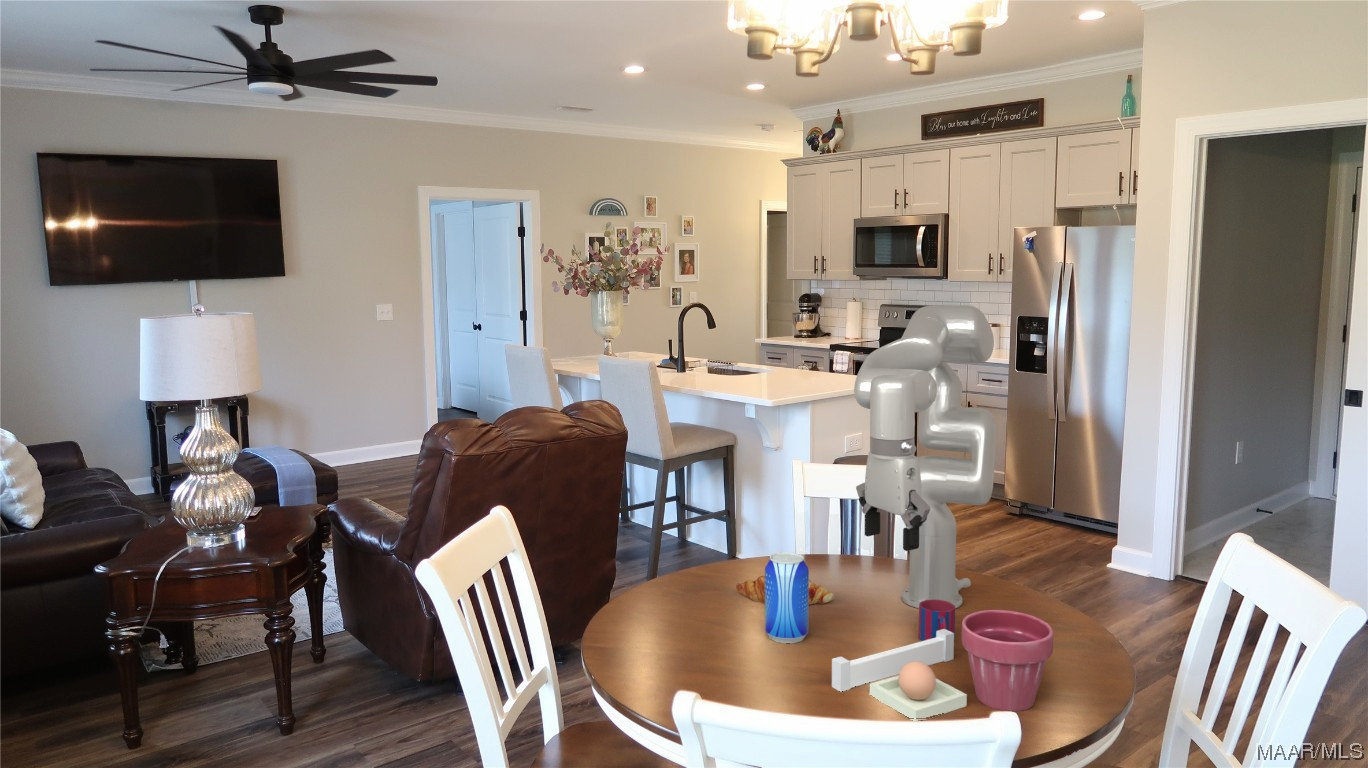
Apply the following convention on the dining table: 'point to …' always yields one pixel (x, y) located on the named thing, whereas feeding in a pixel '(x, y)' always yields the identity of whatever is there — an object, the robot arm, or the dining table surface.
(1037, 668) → the plant pot
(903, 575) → the dining table surface
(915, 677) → the ball
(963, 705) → the square tray
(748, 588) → the croissant
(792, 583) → the beer can
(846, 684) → the rail
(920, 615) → the mug
